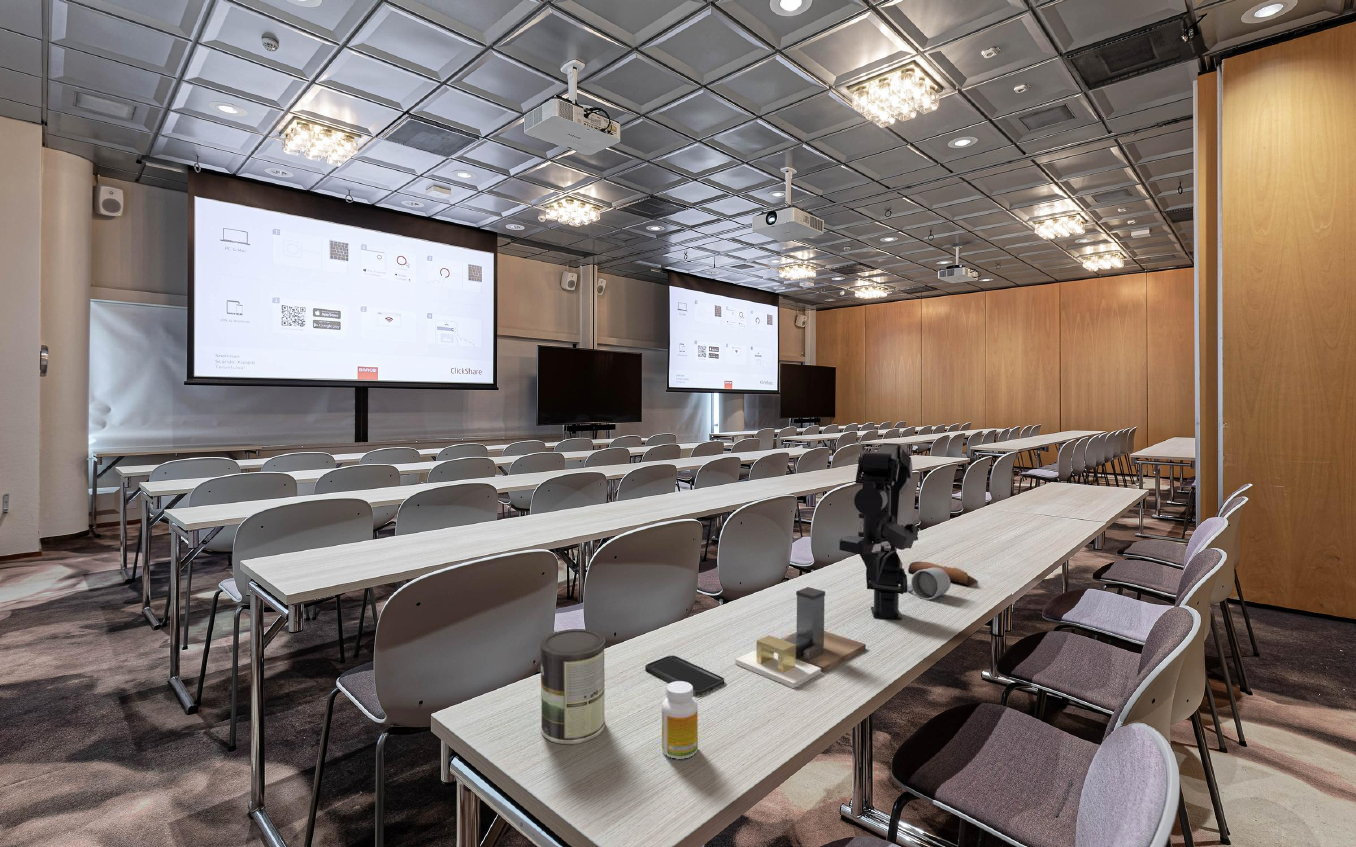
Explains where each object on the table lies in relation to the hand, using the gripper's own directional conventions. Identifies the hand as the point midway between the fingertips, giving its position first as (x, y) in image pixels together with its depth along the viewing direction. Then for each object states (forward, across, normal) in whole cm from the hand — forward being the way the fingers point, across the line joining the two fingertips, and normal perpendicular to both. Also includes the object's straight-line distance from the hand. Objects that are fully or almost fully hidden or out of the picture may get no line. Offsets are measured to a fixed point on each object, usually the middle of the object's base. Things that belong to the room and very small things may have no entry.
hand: (875, 580), depth 135 cm
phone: (+15, -44, +11) cm, 48 cm away
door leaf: (+13, -15, +4) cm, 20 cm away
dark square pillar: (+12, -20, +3) cm, 23 cm away
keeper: (+14, -28, +2) cm, 31 cm away
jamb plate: (+14, -28, +2) cm, 31 cm away
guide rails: (+13, -20, +3) cm, 24 cm away
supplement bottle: (+16, -60, -8) cm, 62 cm away
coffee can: (+16, -69, +8) cm, 71 cm away
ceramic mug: (+11, +36, +9) cm, 39 cm away
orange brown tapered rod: (+11, +55, +15) cm, 58 cm away
